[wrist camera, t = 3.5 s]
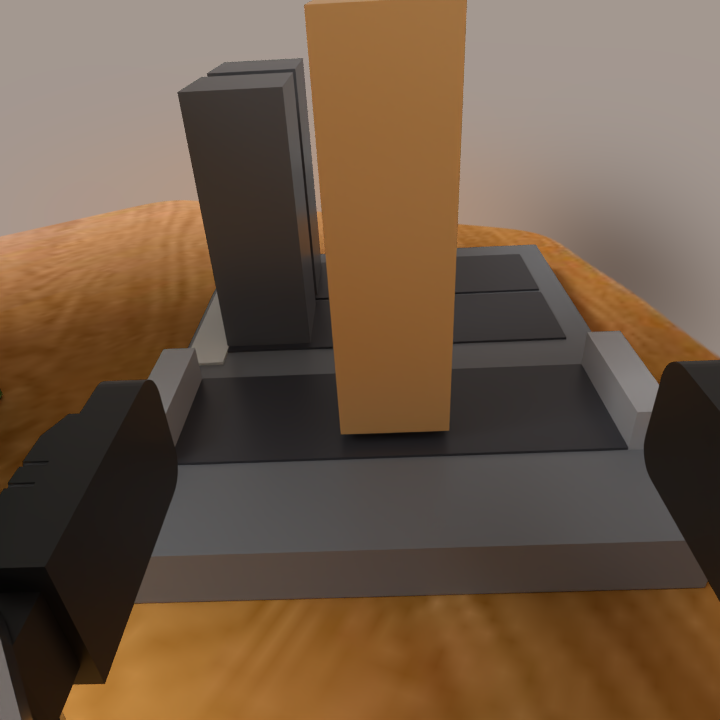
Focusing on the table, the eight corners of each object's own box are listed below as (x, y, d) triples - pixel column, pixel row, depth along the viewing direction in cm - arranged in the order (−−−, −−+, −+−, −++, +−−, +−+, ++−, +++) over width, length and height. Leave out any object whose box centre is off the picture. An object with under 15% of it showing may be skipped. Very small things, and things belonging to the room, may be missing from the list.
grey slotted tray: (109, 604, 17) (-71, 195, 11) (235, 290, 35) (194, 60, 28) (704, 587, 17) (886, 149, 10) (531, 277, 34) (559, 40, 28)
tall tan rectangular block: (340, 434, 19) (303, 4, 13) (343, 373, 22) (315, -1, 16) (449, 430, 19) (467, -5, 13) (437, 370, 22) (447, -9, 16)
